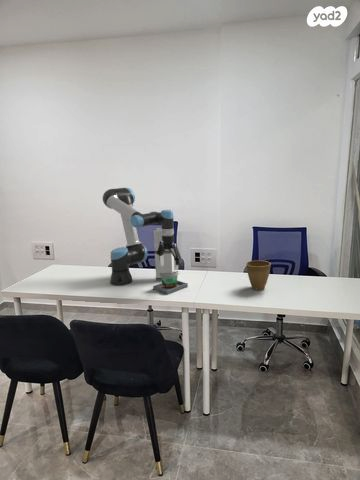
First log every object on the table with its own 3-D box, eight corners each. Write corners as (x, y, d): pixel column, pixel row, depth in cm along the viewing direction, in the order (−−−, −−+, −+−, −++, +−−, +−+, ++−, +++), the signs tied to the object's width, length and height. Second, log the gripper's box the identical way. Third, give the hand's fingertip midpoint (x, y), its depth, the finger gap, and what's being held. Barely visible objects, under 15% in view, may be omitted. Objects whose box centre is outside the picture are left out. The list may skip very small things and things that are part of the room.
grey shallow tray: (153, 289, 219) (152, 286, 219) (173, 282, 231) (173, 279, 230) (167, 294, 209) (167, 290, 209) (187, 287, 221) (187, 283, 221)
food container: (162, 290, 215) (161, 275, 213) (160, 287, 221) (159, 272, 219) (181, 287, 218) (180, 272, 216) (178, 284, 224) (178, 270, 222)
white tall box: (174, 275, 245) (172, 227, 238) (172, 280, 235) (170, 230, 228) (159, 275, 247) (156, 228, 240) (156, 280, 237) (153, 230, 230)
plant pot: (275, 287, 214) (275, 262, 211) (261, 293, 204) (261, 268, 201) (255, 282, 225) (255, 258, 222) (241, 288, 215) (241, 263, 212)
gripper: (150, 233, 219) (151, 265, 224) (177, 238, 202) (178, 273, 206) (159, 231, 224) (160, 262, 229) (186, 236, 207) (187, 270, 211)
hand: (169, 267), depth 218 cm, fingers open, 13 cm apart
